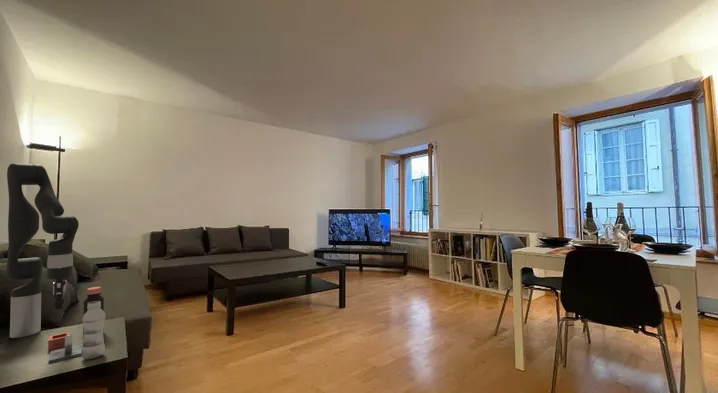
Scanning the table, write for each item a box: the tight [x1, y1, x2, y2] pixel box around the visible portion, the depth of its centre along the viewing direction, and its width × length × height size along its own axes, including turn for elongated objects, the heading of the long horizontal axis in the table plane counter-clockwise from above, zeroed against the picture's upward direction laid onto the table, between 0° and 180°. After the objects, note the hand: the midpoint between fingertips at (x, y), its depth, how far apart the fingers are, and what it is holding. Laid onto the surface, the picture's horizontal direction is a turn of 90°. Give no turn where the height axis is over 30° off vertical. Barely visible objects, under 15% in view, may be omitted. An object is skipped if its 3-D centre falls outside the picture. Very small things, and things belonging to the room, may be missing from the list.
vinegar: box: [82, 286, 105, 337], centre depth 136 cm, size 7×7×20 cm
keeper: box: [47, 333, 83, 365], centre depth 117 cm, size 10×10×7 cm
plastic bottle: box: [81, 301, 107, 360], centre depth 114 cm, size 6×7×20 cm
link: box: [47, 331, 71, 352], centre depth 124 cm, size 6×6×4 cm
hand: (59, 306), depth 124 cm, fingers open, 8 cm apart
